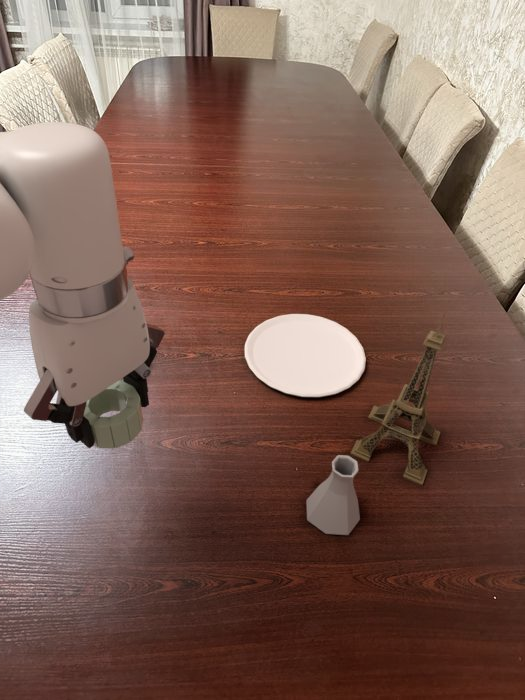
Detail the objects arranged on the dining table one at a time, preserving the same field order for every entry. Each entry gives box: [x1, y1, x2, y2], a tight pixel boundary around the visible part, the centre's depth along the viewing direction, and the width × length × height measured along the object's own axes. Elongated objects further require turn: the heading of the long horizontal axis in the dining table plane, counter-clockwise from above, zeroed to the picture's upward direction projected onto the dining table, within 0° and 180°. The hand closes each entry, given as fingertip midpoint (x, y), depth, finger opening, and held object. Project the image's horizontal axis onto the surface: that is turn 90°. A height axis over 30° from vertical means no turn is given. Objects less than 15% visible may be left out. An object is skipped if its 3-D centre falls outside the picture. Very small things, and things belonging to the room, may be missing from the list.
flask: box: [305, 454, 361, 536], centre depth 65 cm, size 7×7×10 cm
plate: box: [244, 313, 367, 398], centre depth 89 cm, size 21×21×1 cm
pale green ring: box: [84, 380, 144, 449], centre depth 55 cm, size 6×6×4 cm
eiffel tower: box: [349, 310, 447, 487], centre depth 68 cm, size 11×11×25 cm
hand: (111, 418), depth 56 cm, fingers closed on pale green ring, 6 cm apart
